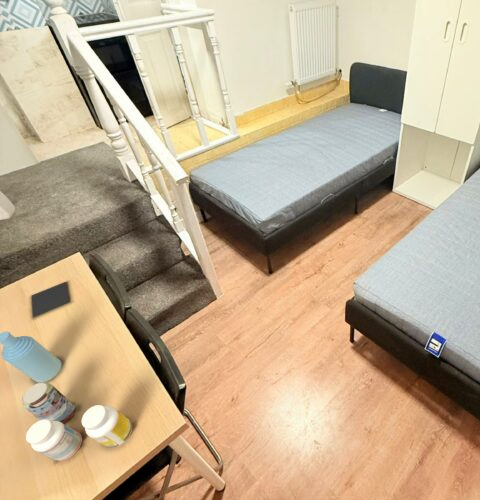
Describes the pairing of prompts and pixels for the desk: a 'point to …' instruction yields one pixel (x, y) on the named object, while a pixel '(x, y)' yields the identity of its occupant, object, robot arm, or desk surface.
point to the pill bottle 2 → (106, 425)
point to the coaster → (49, 299)
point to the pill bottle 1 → (54, 439)
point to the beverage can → (48, 403)
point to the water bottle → (29, 357)
